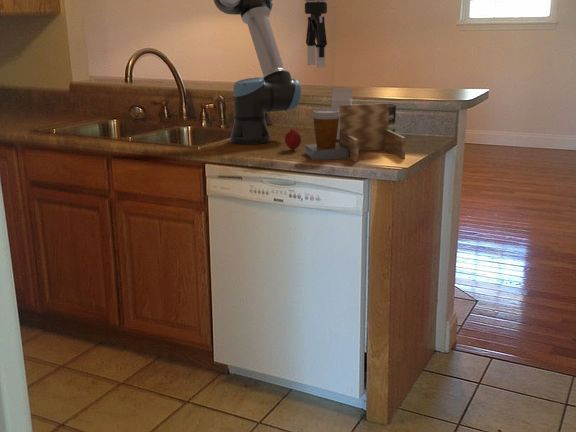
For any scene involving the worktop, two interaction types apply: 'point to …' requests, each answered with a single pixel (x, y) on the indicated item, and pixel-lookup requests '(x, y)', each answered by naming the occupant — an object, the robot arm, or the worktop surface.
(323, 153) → the trivet
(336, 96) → the milk carton
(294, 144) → the onion
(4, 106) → the worktop surface
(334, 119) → the disposable coffee cup
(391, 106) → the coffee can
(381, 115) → the brown patterned armchair
